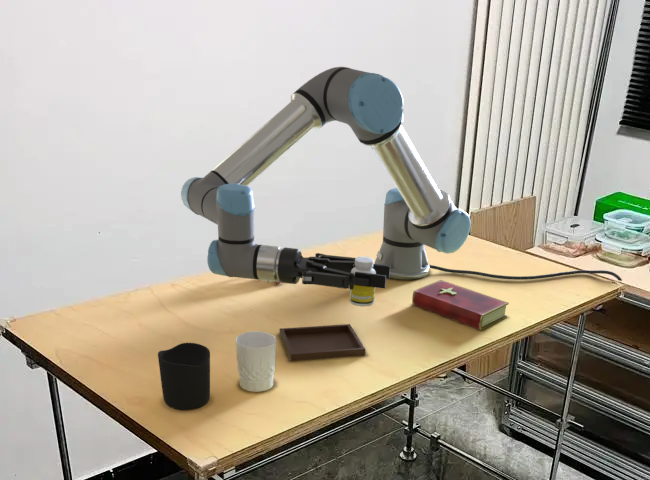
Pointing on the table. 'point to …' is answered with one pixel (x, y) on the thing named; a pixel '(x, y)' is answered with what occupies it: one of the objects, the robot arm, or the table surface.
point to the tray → (321, 342)
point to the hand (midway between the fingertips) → (387, 276)
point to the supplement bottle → (362, 293)
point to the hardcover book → (460, 304)
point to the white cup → (256, 360)
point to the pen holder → (185, 376)
